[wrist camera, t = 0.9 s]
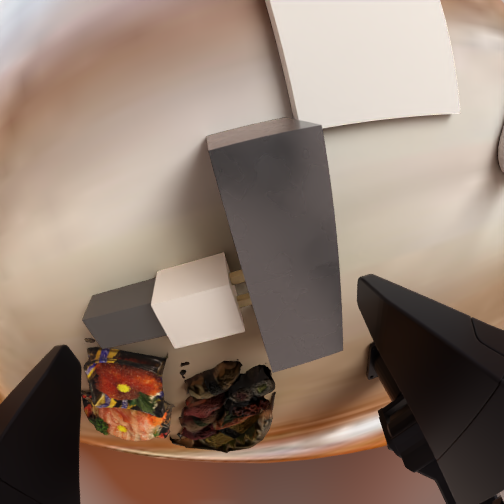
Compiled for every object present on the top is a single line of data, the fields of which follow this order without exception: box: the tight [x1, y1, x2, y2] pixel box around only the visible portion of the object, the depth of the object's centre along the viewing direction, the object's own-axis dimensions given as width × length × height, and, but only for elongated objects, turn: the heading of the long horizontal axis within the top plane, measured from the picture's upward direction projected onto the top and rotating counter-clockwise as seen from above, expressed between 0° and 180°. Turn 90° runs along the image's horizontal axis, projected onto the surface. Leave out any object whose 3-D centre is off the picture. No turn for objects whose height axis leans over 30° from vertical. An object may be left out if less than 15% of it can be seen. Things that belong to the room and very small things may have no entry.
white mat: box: [265, 0, 461, 128], centre depth 15 cm, size 12×14×1 cm
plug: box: [82, 252, 252, 349], centre depth 20 cm, size 4×12×4 cm, turn 103°
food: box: [81, 338, 276, 453], centre depth 28 cm, size 22×19×4 cm
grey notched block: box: [206, 117, 343, 372], centre depth 18 cm, size 14×5×6 cm, turn 13°
